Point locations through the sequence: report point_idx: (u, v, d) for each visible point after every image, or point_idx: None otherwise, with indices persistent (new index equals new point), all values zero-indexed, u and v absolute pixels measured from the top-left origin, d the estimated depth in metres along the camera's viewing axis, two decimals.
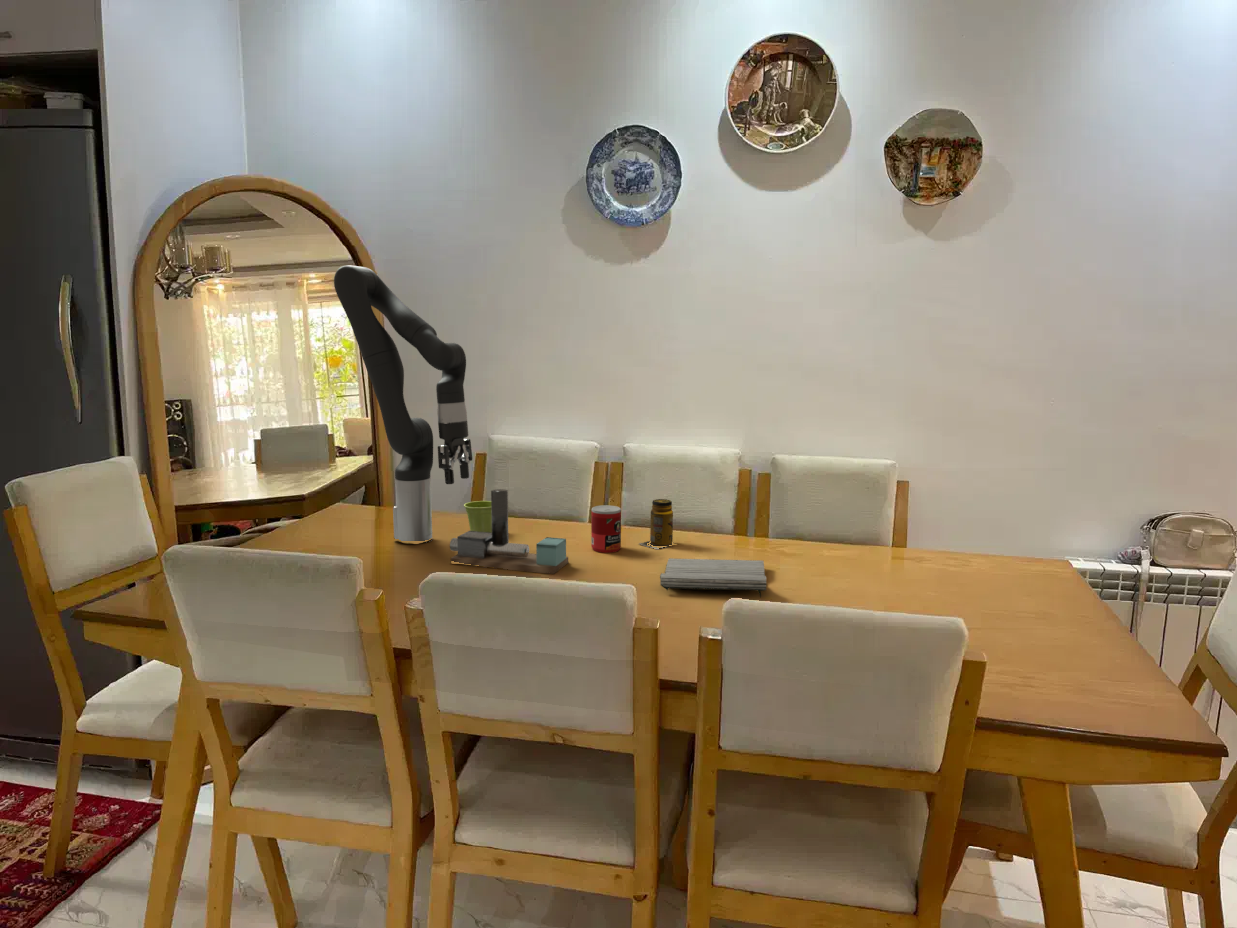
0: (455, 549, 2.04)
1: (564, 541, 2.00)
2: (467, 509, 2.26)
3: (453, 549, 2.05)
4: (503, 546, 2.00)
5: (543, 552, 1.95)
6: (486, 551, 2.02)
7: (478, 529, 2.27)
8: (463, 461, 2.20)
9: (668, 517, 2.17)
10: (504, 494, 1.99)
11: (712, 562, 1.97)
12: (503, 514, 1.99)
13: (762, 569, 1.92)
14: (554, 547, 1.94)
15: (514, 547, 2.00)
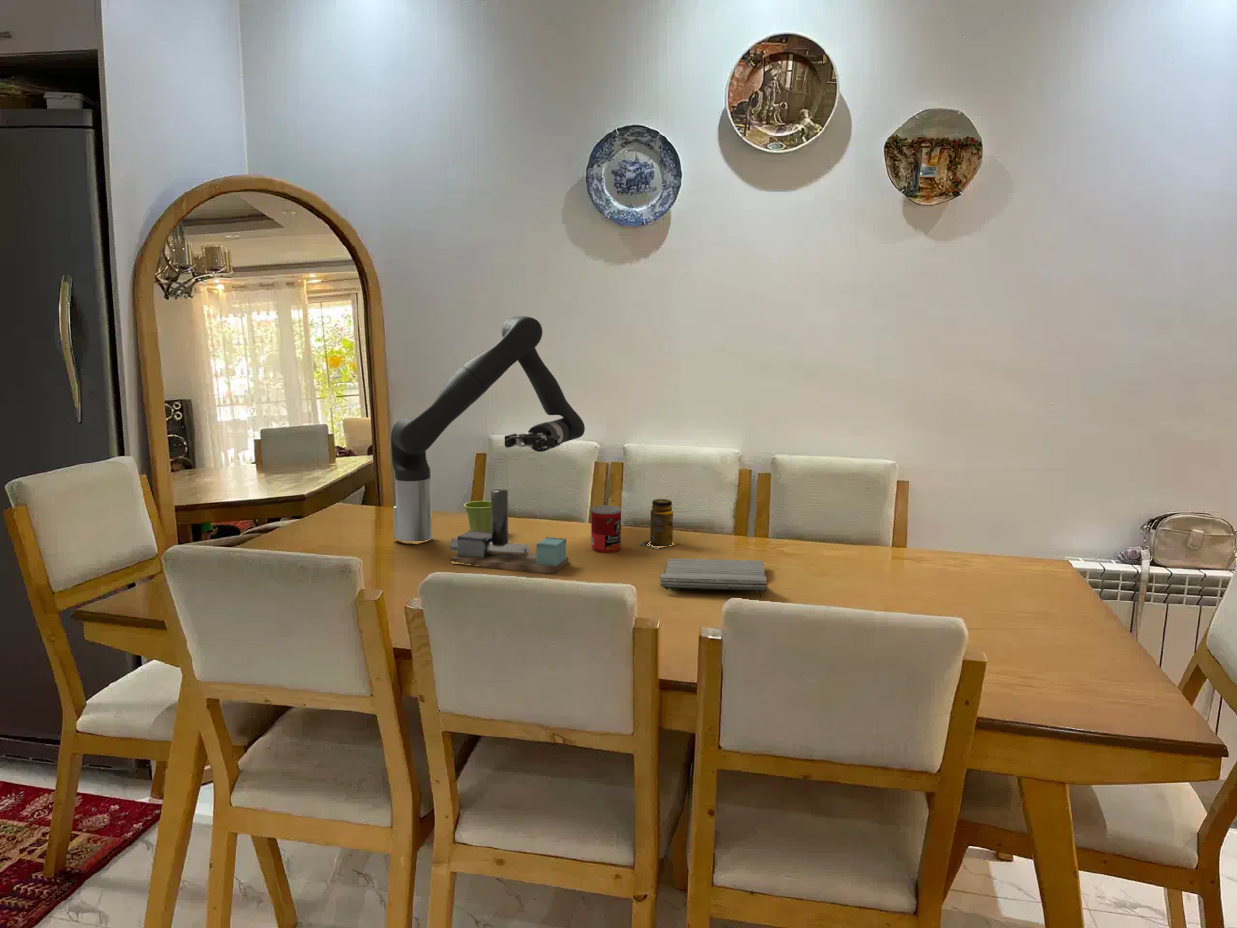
0: (455, 549, 2.04)
1: (564, 541, 2.00)
2: (467, 509, 2.26)
3: (453, 549, 2.05)
4: (503, 546, 2.00)
5: (543, 552, 1.95)
6: (486, 551, 2.02)
7: (478, 529, 2.27)
8: None
9: (668, 517, 2.17)
10: (504, 494, 1.99)
11: (712, 562, 1.97)
12: (503, 514, 1.99)
13: (762, 569, 1.92)
14: (554, 547, 1.94)
15: (514, 547, 2.00)
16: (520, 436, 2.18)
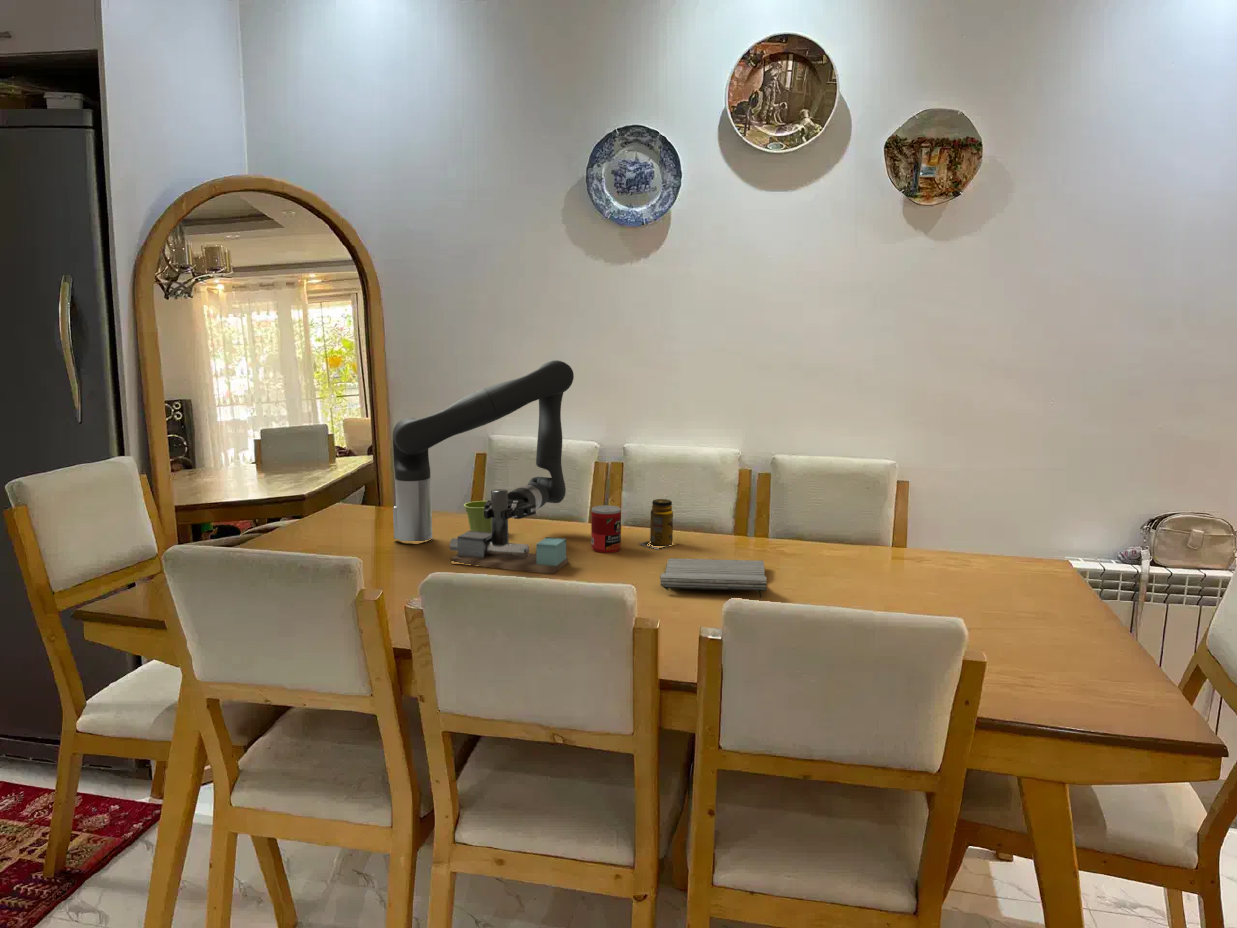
0: (455, 549, 2.04)
1: (564, 541, 2.00)
2: (467, 509, 2.26)
3: (453, 549, 2.05)
4: (503, 546, 2.01)
5: (543, 552, 1.95)
6: (486, 551, 2.02)
7: (478, 529, 2.27)
8: None
9: (668, 517, 2.18)
10: (504, 494, 1.99)
11: (712, 562, 1.97)
12: None
13: (762, 569, 1.92)
14: (554, 547, 1.94)
15: (514, 547, 2.00)
16: None
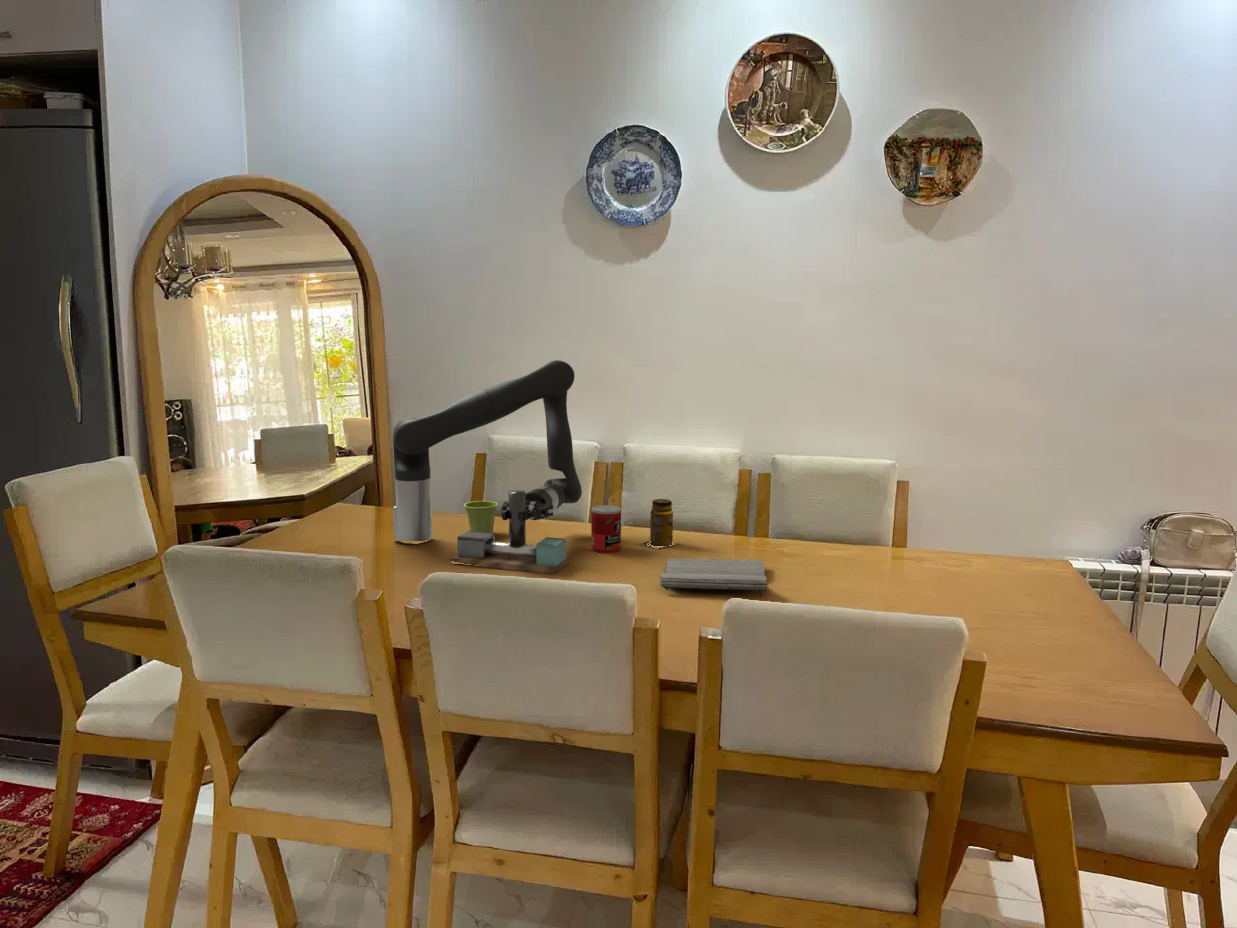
0: None
1: (564, 541, 2.00)
2: (467, 509, 2.26)
3: None
4: (521, 548, 1.99)
5: (543, 552, 1.95)
6: (503, 553, 2.00)
7: (478, 529, 2.27)
8: None
9: (668, 517, 2.18)
10: (522, 495, 1.97)
11: (712, 562, 1.97)
12: None
13: (762, 569, 1.92)
14: (554, 547, 1.94)
15: (532, 548, 1.98)
16: None
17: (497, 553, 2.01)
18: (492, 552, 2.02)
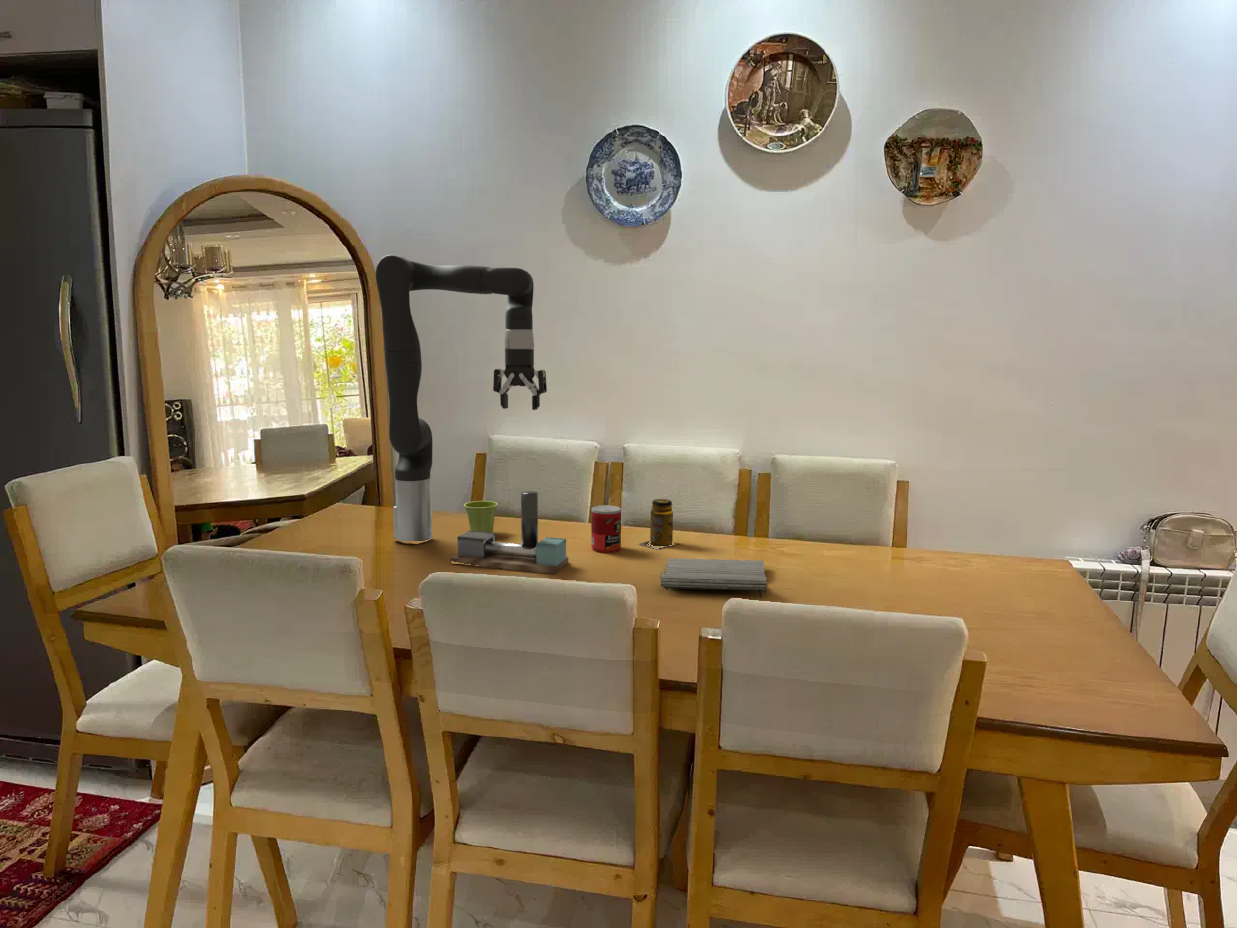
0: None
1: (564, 541, 2.00)
2: (467, 509, 2.26)
3: None
4: (533, 549, 1.98)
5: (543, 552, 1.95)
6: (516, 554, 2.00)
7: (478, 529, 2.27)
8: (505, 391, 2.17)
9: (668, 517, 2.17)
10: (534, 496, 1.96)
11: (712, 562, 1.97)
12: (533, 516, 1.97)
13: (762, 569, 1.92)
14: (554, 547, 1.94)
15: None
16: (507, 387, 2.15)
17: (509, 554, 2.00)
18: (504, 553, 2.01)
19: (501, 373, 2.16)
